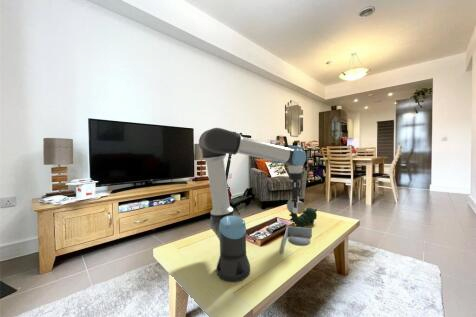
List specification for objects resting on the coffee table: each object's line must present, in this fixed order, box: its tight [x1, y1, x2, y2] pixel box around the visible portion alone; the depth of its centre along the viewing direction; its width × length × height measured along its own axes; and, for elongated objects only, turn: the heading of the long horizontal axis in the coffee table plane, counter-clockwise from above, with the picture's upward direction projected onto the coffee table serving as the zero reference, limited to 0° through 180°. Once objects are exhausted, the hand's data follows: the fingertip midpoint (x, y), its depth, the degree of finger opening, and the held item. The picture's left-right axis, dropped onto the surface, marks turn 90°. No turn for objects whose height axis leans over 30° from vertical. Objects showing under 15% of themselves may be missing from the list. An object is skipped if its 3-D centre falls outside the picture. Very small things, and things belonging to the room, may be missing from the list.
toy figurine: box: [288, 207, 318, 228], centre depth 145 cm, size 9×19×25 cm
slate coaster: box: [288, 235, 311, 246], centre depth 120 cm, size 12×12×1 cm
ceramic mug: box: [286, 197, 306, 215], centre depth 119 cm, size 11×8×8 cm
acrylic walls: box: [281, 225, 313, 255], centre depth 115 cm, size 26×15×5 cm, turn 161°
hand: (296, 210), depth 118 cm, fingers closed on ceramic mug, 11 cm apart
